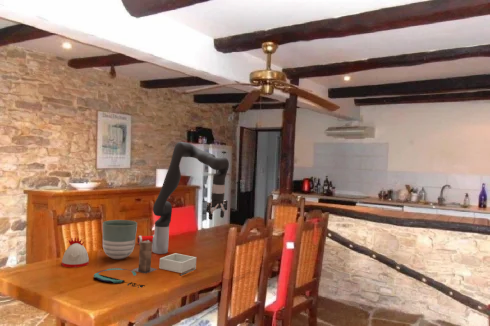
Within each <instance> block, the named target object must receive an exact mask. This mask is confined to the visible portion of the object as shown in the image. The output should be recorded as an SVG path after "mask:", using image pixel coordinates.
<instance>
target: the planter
mask: <svg viewBox="0 0 490 326" xmlns="http://www.w3.org/2000/svg"><path fill="white" fill-rule="evenodd" d="M137 228H138V222H136V221H134V220H129V219H112V220H111V219H110V220H105V221H103V222H102V248H103V251H104V253H105V255H107V256H108V258H109V259H110V258H111V259H112V260H123V259H125V258H127V257H129V256H130V255H131V254H132V253H133V251H134V248H135V245H136V240H137V239H136V238H137V230H138V229H137Z"/></svg>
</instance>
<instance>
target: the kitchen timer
mask: <svg viewBox="0 0 490 326" xmlns="http://www.w3.org/2000/svg"><path fill="white" fill-rule="evenodd" d="M81 242H82V239H80V237H79V236H78V237H77V238H76V237H74V239H73V237H71V239H68V244H69V246H68V247H67V248H66V249H65V250H64V254H63V256H62V258H61V266H63V267H65V268H82V267H85V266H88V265H89V263H90V259H89V255H88V251H87V249H86V248H85V246H84V243H85V241H83V242H82V243H81Z"/></svg>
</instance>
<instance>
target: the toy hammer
mask: <svg viewBox="0 0 490 326" xmlns="http://www.w3.org/2000/svg"><path fill="white" fill-rule="evenodd" d="M153 237H154V234H152V235H138V236H137V237H136V238H137V239H136V240H137V241H136V242H137V245H139V246H140V242H143V241H150V242H152V243H153Z"/></svg>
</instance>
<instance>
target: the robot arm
mask: <svg viewBox="0 0 490 326" xmlns="http://www.w3.org/2000/svg"><path fill="white" fill-rule="evenodd" d="M182 158H194V159H196V160H197V161H199V162H200V163H202V164H204V165H206V166H208V167H209V168H211V169H212V170H215V171H217V172H216V173H214V174H213V177H212V186H211V194H210V195H211V197H210V198H211V201H210V202H209V201H207V202H206V207H205V212H206V213H208V219H209V220H210V221H213V213H214V212H215V211H216V210H218V209H219V210H220V213H219V215H220V218H221V219H222V218H223V219H224V217H225V211H227V210H228V200H226V199H225V191H226V188H225V187H226V177H227V174H228V170H229V167H230V162H229V160H228V158H226V157H222V156H221V157H216V155H214V154H212V153H210V152H208V151H204V150H202V149H200V148H198V147H196V146H195V145H193V144H192V143H191V142H186V141H185V142H183V141H178V142H177V143H176V144H175V145H174V148H173V151H172V155H171V160H170V163H169V166H168V170H167V172H166V174H165V177H164V180H163V183H162V186H161V188H160V191H159V193H158V195H157V198H156V200H155V202H154V204H153V207H152V212H153V214H154V215H155V216H156V217H159V218H158V219H157V220H155V221H154V231H153V232H154V234H153V235H154V237H153V243H152V252H151V253H154V254H157V255H165V254H167V253H169V251H168V250H169V239H170V238H169V236H170V235H169V234H170V225H171V221H172V213H173V207H172V204H171V202H170V201H168V199H169V197H170V196H171V194H173V193H174V192H175V190H176V189H177V188H178V186H179V183H180V180H181V178H182V175H181V174H182V173H181V168H180V163H181V161H182Z"/></svg>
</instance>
